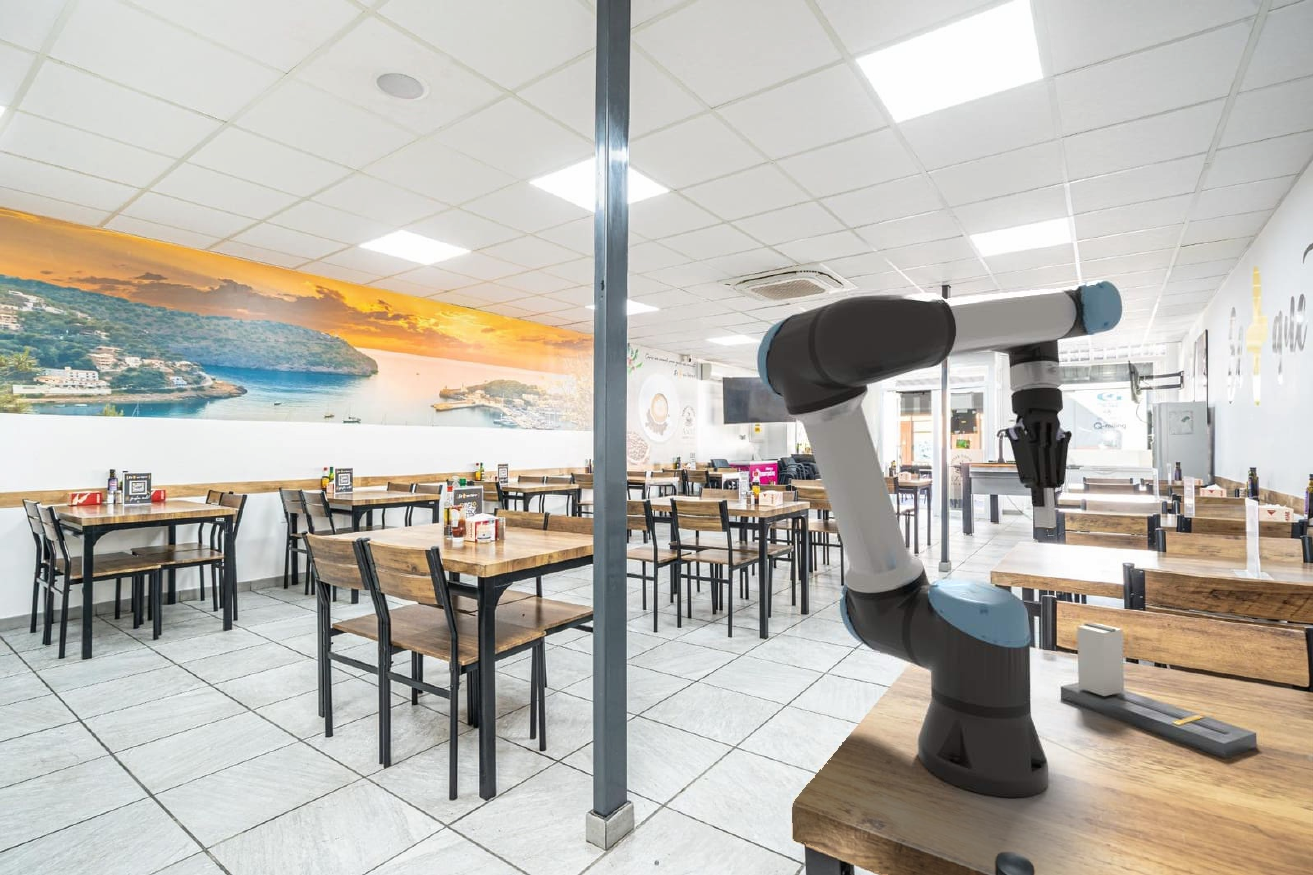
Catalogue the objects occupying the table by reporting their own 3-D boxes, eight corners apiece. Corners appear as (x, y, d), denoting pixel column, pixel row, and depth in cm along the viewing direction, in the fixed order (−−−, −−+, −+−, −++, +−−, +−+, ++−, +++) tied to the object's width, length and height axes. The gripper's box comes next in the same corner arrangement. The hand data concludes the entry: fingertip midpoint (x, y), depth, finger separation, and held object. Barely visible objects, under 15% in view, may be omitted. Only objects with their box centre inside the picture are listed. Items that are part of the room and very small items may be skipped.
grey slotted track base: (1060, 698, 102) (1060, 685, 102) (1091, 691, 106) (1091, 678, 106) (1224, 758, 82) (1224, 742, 82) (1256, 747, 85) (1256, 731, 85)
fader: (1078, 687, 101) (1077, 624, 102) (1097, 682, 103) (1096, 621, 104) (1104, 696, 98) (1103, 631, 98) (1124, 691, 99) (1122, 627, 100)
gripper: (1027, 382, 101) (1037, 526, 98) (1083, 389, 106) (1095, 527, 102) (989, 391, 108) (997, 526, 105) (1043, 397, 113) (1053, 527, 109)
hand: (1045, 526), depth 104 cm, fingers closed
